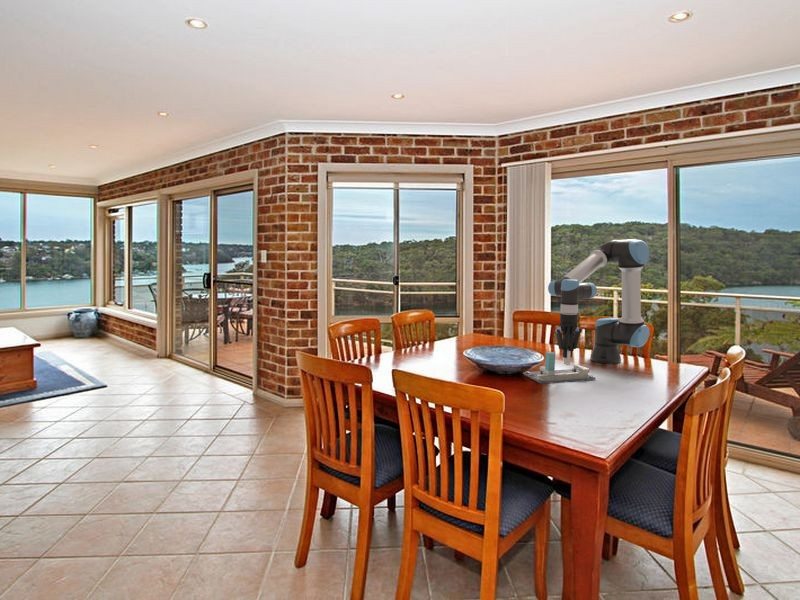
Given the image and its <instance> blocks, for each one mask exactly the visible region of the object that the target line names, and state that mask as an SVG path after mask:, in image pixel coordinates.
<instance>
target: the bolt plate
mask: <svg viewBox="0 0 800 600" xmlns="http://www.w3.org/2000/svg"><path fill="white" fill-rule="evenodd" d="M540 372H541V370H538V371H528V370H526V371H525V372H524V371H523V372H522V374H524V375H523V376H525V377H527V378H529V379H531V380H533V381H534V382H537V383H538V384H540V385H541V384H555V383H569V382H570V383H571V382H583V381H585V382H586V381H596V377H595V376H593V375H591V374H588V377H580V378H565V379H551V380H544V379H540V380H538V379H537V375H541V374H540ZM572 372H574V367H573V368H572V369H571V368H570V369H556V370H555V374H557V373H572ZM576 372H580V371H579V370H577V369H576ZM543 374H545V373H544V372H543Z"/></svg>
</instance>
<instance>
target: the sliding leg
mask: <svg viewBox="0 0 800 600" xmlns="http://www.w3.org/2000/svg"><path fill="white" fill-rule="evenodd" d="M544 359H545V360H544V361H545V362H544V363H545V364H544V366H539V371H541V372H540V374H543V372H544V373H545V374H547V375H555V369H556V353H555V352H553V351H546V352H545V358H544Z"/></svg>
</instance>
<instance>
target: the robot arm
mask: <svg viewBox="0 0 800 600" xmlns="http://www.w3.org/2000/svg"><path fill="white" fill-rule="evenodd" d="M649 259H650V248H649V246H648V243H647V244H646V242H645V241H643V240H641V239H613V240H609V241H607V242H604V243H602V244H600V245H599V246H597V247H595V248H594V249H593V250H591V252H589V256H587V258H585V259H584V260H583V261H581V262H579V264H578V265H576V266H575V267H574V268H573V269H571V270H570V271H569V272H568V273H566V274H565V275H564V276H563V277H561V278H560V279H558V280H556V279H555V280H551V281H550V282H549V284H548V287H547V291H548V293H549V295H551V296H553V297H554V296H555V297H560V306H559V308H560V309H559V310H560V311H559V312H560V314H559V322H560V323H559V326H558V327H557V328H554V332H555V335H556V340H557V345H558V349H559V350H562V357H563V365H566V366H571V358H573V352H574V350H576V349H577V346H578V344H579V343H578V342H579V340H580V339H579V338H580V335H581V333H582V331H583V328H581V327H579V326H578V323H577V322H578V321H579V320H578V314H579V300H589V299H592V298H595V297H596V295H597V293H598V292H597V291H598V289H597V286H596V285H595V283H593V282H588V281H587V282H583V281H585V280H586V279H587V278H588V277H590V276H591V275H592V274H593V273H594V272H596V271H597V270H598V269H599V268H601V267H602V268H603V267H605V266H606V265H608V264H617V266H618V267H617V268H618V269H619V270H620V271H621V317H619V318H618V317H607V318H606V317H605V318H598V319H596V321H595V327H594V346H593V349H592V351H591V354H590V360H591V362H595V363H597V364H598V363H600V364H606V365H607V364H609V365H616V364H619V363H621V362H622V356H621V353H620V350H619V349H620V348H619V345H623V346H628V347H631V348H641V347H643V346H645V344H646V343H647V342H648V340H649V337H650V328H649V326H648V325H646V324H645V319H644V318H642V313H641V311H642V309H641V307H642V306H641V305H642V303H641V301H642V298H641V295H642V294H641V292H642V290H641V287H642V286H641V283H642V281H641V279H642V278H641V277H642V276H641V273H642V271H641V270H643V268H644V267H645V264H647V263H648V261H649Z"/></svg>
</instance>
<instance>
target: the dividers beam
mask: <svg viewBox="0 0 800 600" xmlns="http://www.w3.org/2000/svg"><path fill="white" fill-rule="evenodd" d="M573 368H574V372H572V373H557V374H555V375H547V374H541V375H537V379H538V380H540V379H544V380H551V379H565V378H580V377H588V375H589V374H590V372H591V371H590V370H591V369H590V368H589V367H586V366H582V365H579V364H577V363H576V364H573ZM576 370H579V371H580V372H576Z"/></svg>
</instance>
